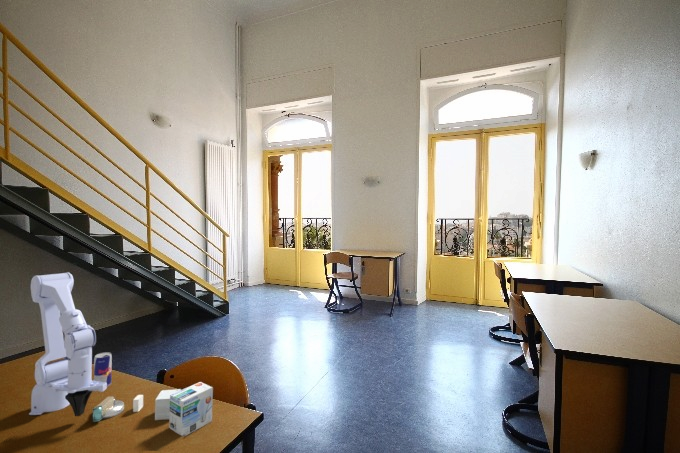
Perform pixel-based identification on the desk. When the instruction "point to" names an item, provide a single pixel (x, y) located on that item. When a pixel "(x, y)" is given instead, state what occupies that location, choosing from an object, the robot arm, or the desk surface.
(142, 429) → the desk surface
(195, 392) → the light bulb box
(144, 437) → the desk surface
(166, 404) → the product box
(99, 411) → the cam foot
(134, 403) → the white rectangular box
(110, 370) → the energy drink
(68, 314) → the robot arm
